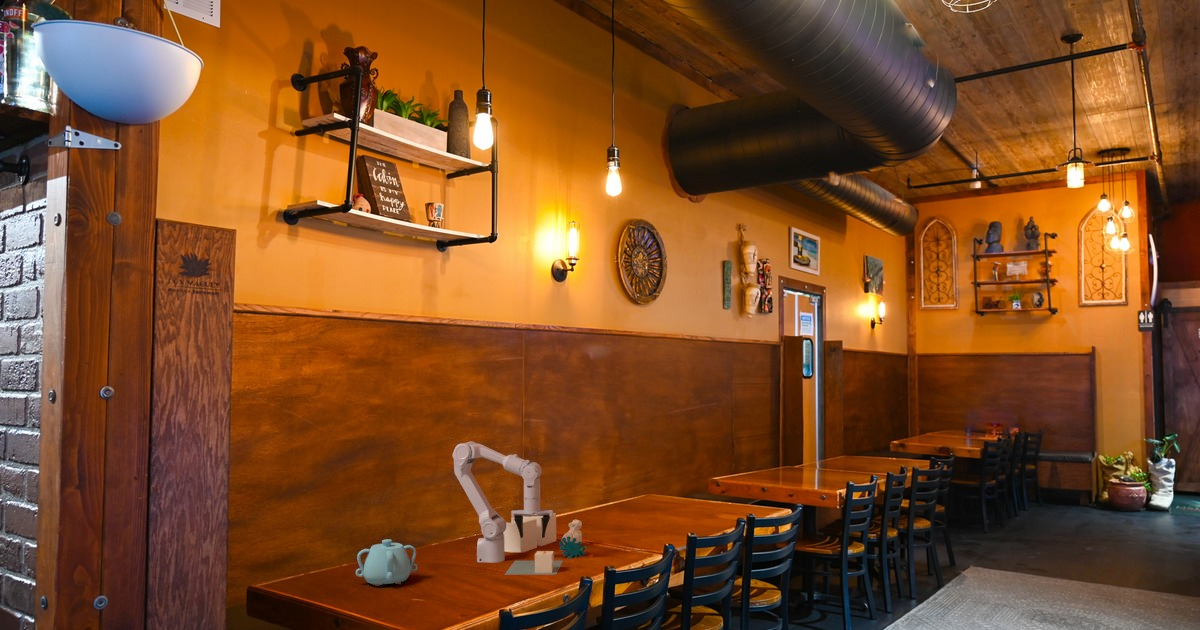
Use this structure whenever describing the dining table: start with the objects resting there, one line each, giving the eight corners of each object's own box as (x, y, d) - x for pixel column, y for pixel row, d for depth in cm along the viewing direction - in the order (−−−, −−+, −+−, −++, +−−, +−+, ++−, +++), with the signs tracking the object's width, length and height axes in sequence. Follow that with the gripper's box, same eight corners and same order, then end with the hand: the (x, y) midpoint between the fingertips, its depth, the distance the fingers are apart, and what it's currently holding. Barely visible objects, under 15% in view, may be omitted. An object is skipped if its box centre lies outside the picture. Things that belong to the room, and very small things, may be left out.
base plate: (504, 578, 272) (504, 574, 272) (514, 564, 292) (514, 560, 292) (556, 578, 271) (556, 574, 271) (563, 564, 291) (563, 560, 291)
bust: (565, 555, 315) (580, 532, 313) (551, 541, 318) (566, 519, 316) (581, 549, 326) (596, 527, 323) (568, 535, 329) (582, 514, 326)
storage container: (520, 553, 310) (520, 523, 311) (496, 551, 315) (496, 521, 316) (556, 541, 332) (556, 513, 333) (533, 539, 337) (533, 511, 338)
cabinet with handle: (534, 572, 274) (534, 554, 274) (537, 568, 279) (537, 550, 280) (551, 572, 273) (551, 554, 274) (553, 568, 279) (553, 550, 279)
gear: (564, 558, 292) (557, 534, 299) (558, 568, 295) (550, 544, 302) (591, 558, 298) (584, 535, 305) (584, 568, 301) (577, 545, 308)
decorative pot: (349, 585, 267) (349, 542, 268) (386, 574, 281) (386, 533, 282) (386, 591, 259) (386, 547, 259) (422, 579, 272) (422, 537, 273)
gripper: (509, 499, 289) (510, 539, 288) (551, 499, 288) (551, 539, 287) (513, 496, 296) (513, 535, 295) (553, 496, 295) (554, 535, 294)
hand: (532, 537), depth 291 cm, fingers open, 7 cm apart
